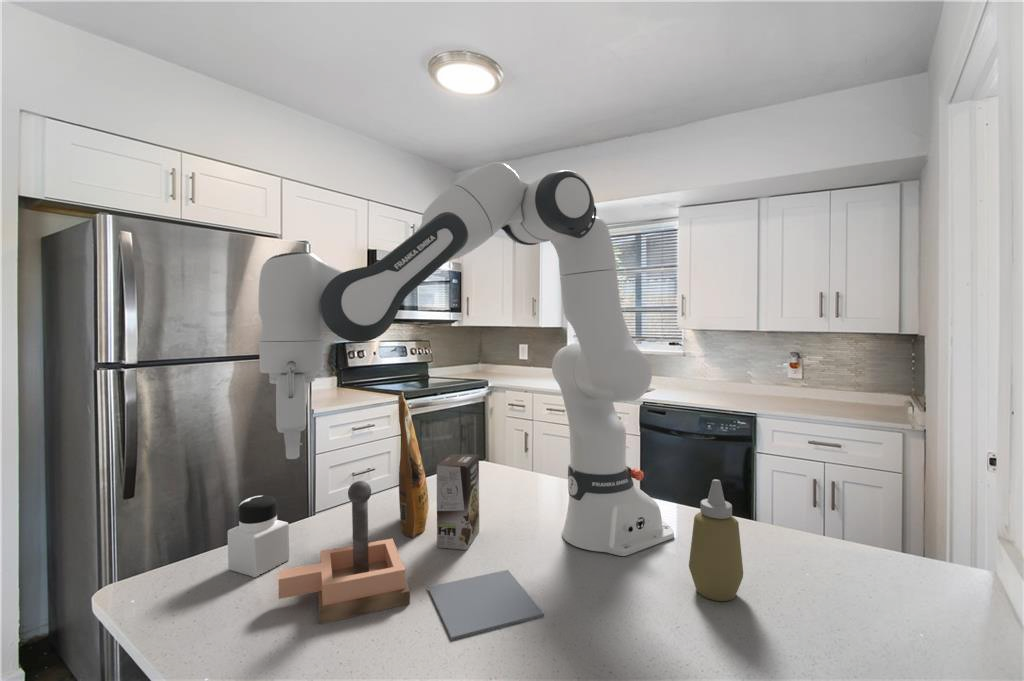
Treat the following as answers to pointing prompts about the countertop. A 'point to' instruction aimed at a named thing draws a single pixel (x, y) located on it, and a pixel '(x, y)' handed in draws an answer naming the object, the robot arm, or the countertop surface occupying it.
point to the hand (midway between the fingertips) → (293, 450)
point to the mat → (482, 603)
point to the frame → (347, 586)
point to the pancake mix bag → (411, 477)
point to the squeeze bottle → (716, 548)
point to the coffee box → (457, 501)
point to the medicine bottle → (258, 538)
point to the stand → (361, 566)
